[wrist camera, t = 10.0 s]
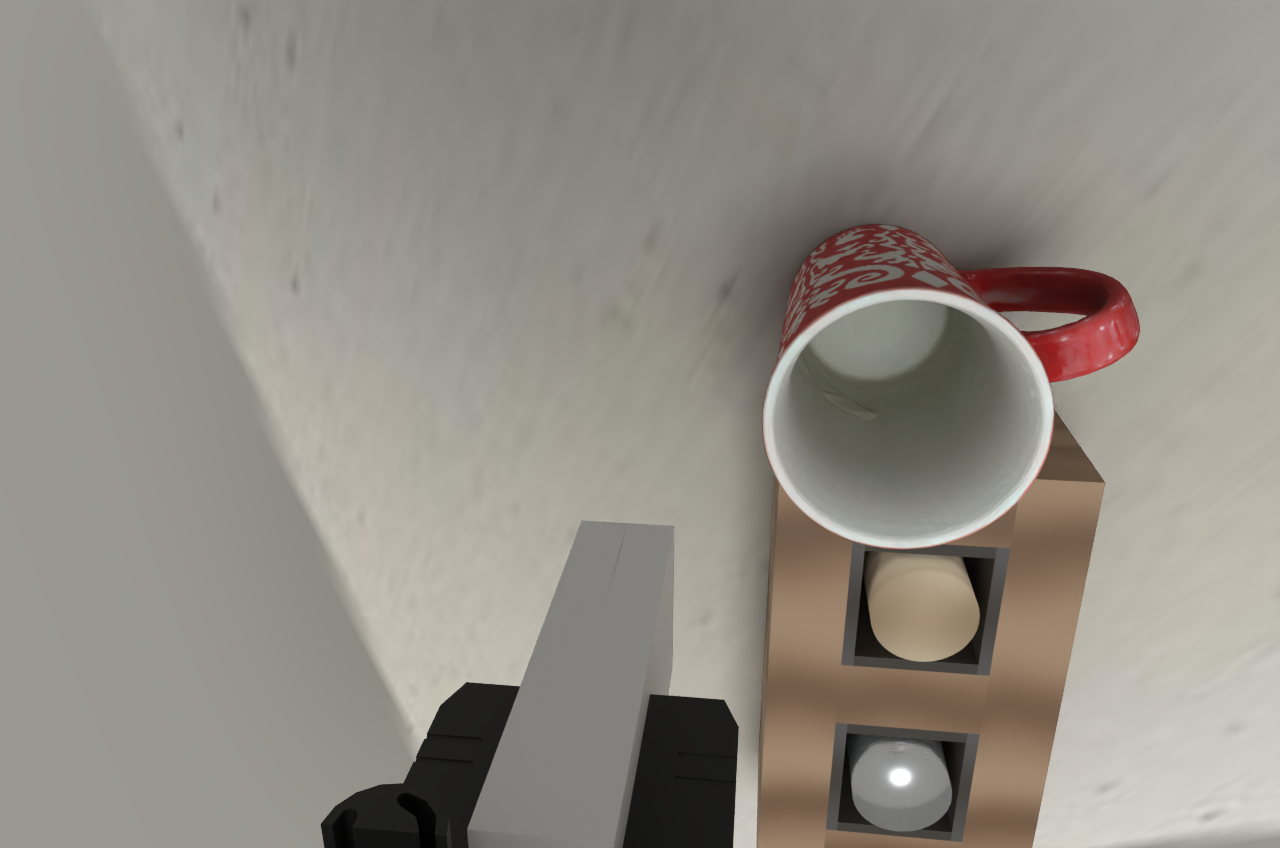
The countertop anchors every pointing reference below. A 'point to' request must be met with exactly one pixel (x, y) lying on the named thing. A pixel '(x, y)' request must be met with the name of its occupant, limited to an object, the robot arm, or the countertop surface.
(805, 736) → the socket block
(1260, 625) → the countertop surface
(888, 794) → the steel peg
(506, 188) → the countertop surface
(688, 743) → the robot arm
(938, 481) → the mug
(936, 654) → the beech peg
